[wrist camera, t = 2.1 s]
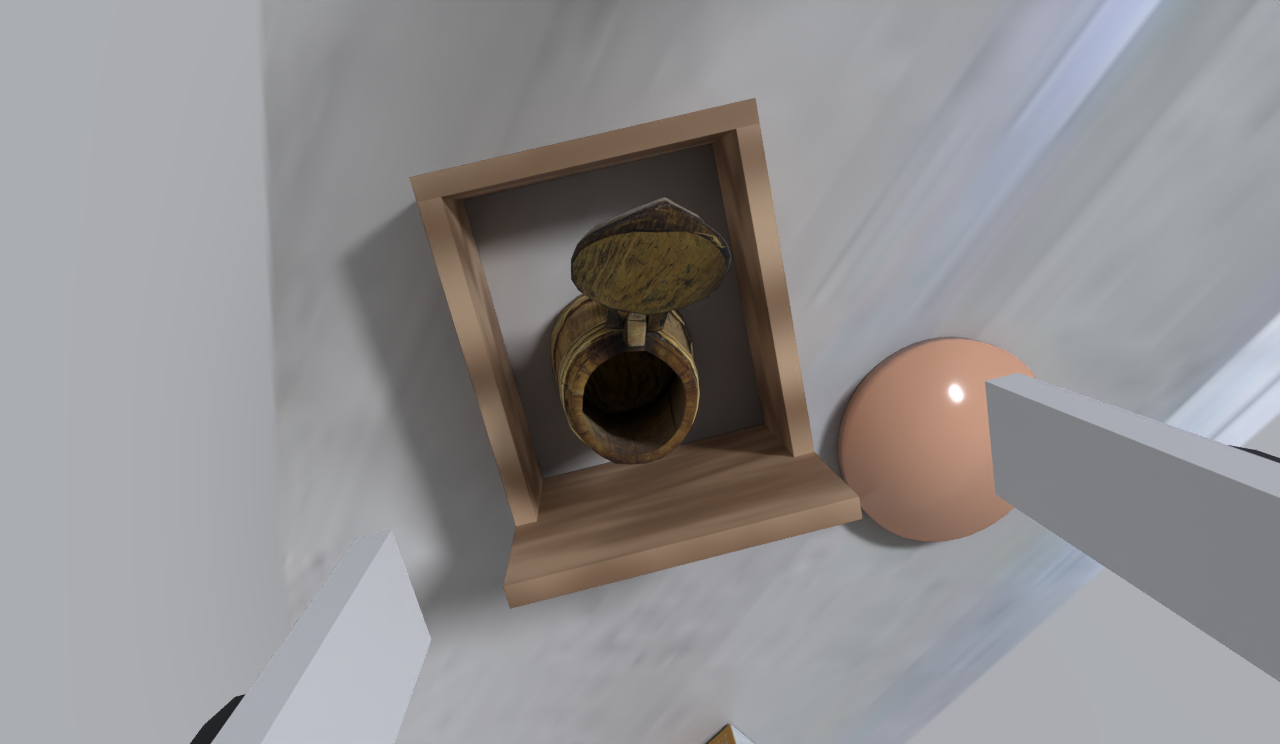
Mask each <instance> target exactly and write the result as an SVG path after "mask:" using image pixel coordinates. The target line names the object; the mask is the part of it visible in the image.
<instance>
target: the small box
mask: <svg viewBox="0 0 1280 744" xmlns="http://www.w3.org/2000/svg"><path fill="white" fill-rule="evenodd" d="M708 744H754V743H753V742H751V741H750V740H749V739H748V738H747V737H745V736H744V735H743V734H742V733H741V732H739V731H738V730H737V729H736V728H735V727H734V726H732V725H731V724H729V725H728V726H726V727H725V728H724V729H723V730H722V731H721V732H720V733H719V734H718V735H717V736H716V737H715V738H714V739H713V740H712V741H710V742H709V743H708Z"/></svg>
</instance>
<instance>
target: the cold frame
mask: <svg viewBox="0 0 1280 744" xmlns="http://www.w3.org/2000/svg"><path fill="white" fill-rule="evenodd" d="M709 143H712V145H713V150H714V155H715V161H716V166H717V171H718V177H719V182H720V188H721V193H722V198H723V204H724V209H725V214H726V220H727V225H728V231H729V236H730V241H731V247H732V252H733V257H734V263H735V268H736V273H737V279H738V284H739V290H740V295H741V300H742V306H743V311H744V316H745V322H746V327H747V332H748V338H749V343H750V349H751V354H752V359H753V365H754V370H755V375H756V381H757V386H758V392H759V397H760V402H761V408H762V413H763V418H764V424H762V425H758V426H754V427H750V428H746V429H742V430H738V431H734V432H730V433H726V434H722V435H718V436H714V437H710V438H706V439H702V440H698V441H694V442H690V443H686V444H682V445H678V446H677V447H676V448H675V449H674V450H673V451H672V452H671V453H669V454H668V455H666V456H665V457H663V458H662V459H659V460H656V461H653V462H650V463H647V464H633V465H629V464H615V463H613V462H609V463H605V464H601V465H597V466H593V467H589V468H585V469H581V470H577V471H573V472H569V473H565V474H560V475H556V476H552V477H548V478H544V479H543V476H542V473H541V470H540V466H539V463H538V459H537V456H536V452H535V449H534V445H533V442H532V438H531V435H530V431H529V428H528V424H527V421H526V417H525V414H524V410H523V407H522V403H521V400H520V396H519V393H518V389H517V386H516V383H515V379H514V376H513V372H512V369H511V365H510V362H509V358H508V355H507V351H506V348H505V344H504V341H503V337H502V334H501V330H500V327H499V323H498V320H497V316H496V313H495V309H494V306H493V303H492V299H491V296H490V292H489V289H488V285H487V282H486V278H485V275H484V271H483V268H482V264H481V261H480V257H479V254H478V250H477V247H476V243H475V240H474V236H473V233H472V229H471V226H470V222H469V219H468V216H467V212H466V209H465V205H464V202H463V200H467V199H472V198H476V197H480V196H485V195H489V194H493V193H498V192H502V191H506V190H511V189H515V188H519V187H523V186H528V185H532V184H536V183H541V182H545V181H549V180H554V179H558V178H562V177H567V176H571V175H575V174H580V173H584V172H588V171H593V170H597V169H601V168H605V167H610V166H614V165H618V164H623V163H627V162H631V161H636V160H640V159H644V158H649V157H653V156H657V155H662V154H666V153H670V152H675V151H679V150H683V149H687V148H692V147H696V146H700V145H705V144H709ZM409 178H410V181H411V185H412V188H413V191H414V194H415V198H416V201H417V204H418V207H419V211H420V214H421V217H422V220H423V224H424V227H425V230H426V234H427V237H428V240H429V243H430V247H431V250H432V253H433V256H434V260H435V263H436V266H437V270H438V273H439V276H440V279H441V283H442V286H443V289H444V292H445V296H446V299H447V302H448V306H449V309H450V312H451V315H452V319H453V322H454V325H455V328H456V332H457V335H458V338H459V342H460V345H461V348H462V351H463V355H464V358H465V361H466V364H467V368H468V371H469V374H470V378H471V381H472V384H473V387H474V391H475V394H476V397H477V400H478V404H479V407H480V410H481V414H482V417H483V420H484V423H485V427H486V430H487V433H488V436H489V440H490V443H491V446H492V450H493V453H494V456H495V459H496V463H497V466H498V469H499V472H500V476H501V479H502V482H503V486H504V489H505V492H506V495H507V499H508V502H509V505H510V508H511V512H512V515H513V518H514V522H515V525H516V529H515V534H514V538H513V543H512V548H511V552H510V557H509V562H508V567H507V571H506V576H505V581H504V585H503V588H504V591H505V594H506V597H507V600H508V603H509V606H510V608H514V607H518V606H522V605H526V604H530V603H534V602H538V601H542V600H546V599H549V598H553V597H557V596H561V595H565V594H569V593H573V592H577V591H581V590H585V589H589V588H593V587H597V586H601V585H605V584H608V583H612V582H616V581H620V580H624V579H628V578H632V577H636V576H640V575H644V574H648V573H652V572H656V571H660V570H664V569H667V568H671V567H675V566H679V565H683V564H687V563H691V562H695V561H699V560H703V559H707V558H711V557H715V556H719V555H723V554H726V553H730V552H734V551H738V550H742V549H746V548H750V547H754V546H758V545H762V544H766V543H770V542H774V541H778V540H782V539H785V538H789V537H793V536H797V535H801V534H805V533H809V532H813V531H817V530H821V529H825V528H829V527H833V526H837V525H841V524H845V523H848V522H852V521H856V520H860V519H863V518H862V512H861V505H860V498H859V496H858V495H857V494H856V493H855V492H854V491H853V490H852V489H851V488H850V487H849V486H848V485H847V484H846V483H845V482H844V481H843V480H842V479H841V478H840V477H839V476H838V475H837V474H836V473H835V472H834V471H833V470H832V469H831V468H830V467H829V466H828V465H827V464H826V463H825V462H824V461H823V460H822V459H821V458H820V457H819V456H818V455H817V454H816V453H815V452H814V447H813V441H812V435H811V429H810V423H809V417H808V411H807V405H806V399H805V393H804V387H803V381H802V375H801V369H800V363H799V357H798V351H797V345H796V339H795V333H794V327H793V321H792V315H791V309H790V303H789V297H788V291H787V285H786V279H785V273H784V267H783V261H782V255H781V249H780V243H779V237H778V231H777V225H776V219H775V213H774V207H773V201H772V195H771V189H770V183H769V177H768V171H767V165H766V159H765V153H764V147H763V141H762V135H761V129H760V123H759V117H758V111H757V105H756V99H755V98H753V99H749V100H745V101H740V102H736V103H731V104H727V105H723V106H718V107H714V108H710V109H705V110H701V111H697V112H692V113H688V114H684V115H679V116H675V117H671V118H666V119H662V120H658V121H653V122H649V123H644V124H640V125H636V126H631V127H627V128H623V129H618V130H614V131H610V132H605V133H601V134H597V135H592V136H588V137H584V138H579V139H575V140H570V141H566V142H562V143H557V144H553V145H549V146H544V147H540V148H536V149H531V150H527V151H523V152H518V153H514V154H510V155H505V156H501V157H497V158H492V159H488V160H483V161H479V162H475V163H470V164H466V165H462V166H457V167H453V168H449V169H444V170H440V171H436V172H431V173H427V174H423V175H418V176H414V177H409Z"/></svg>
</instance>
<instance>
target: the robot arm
mask: <svg viewBox="0 0 1280 744" xmlns="http://www.w3.org/2000/svg"><path fill="white" fill-rule="evenodd" d="M985 389H986V399H987V410H988V421H989V431H990V442H991V453H992V463H993V474H994V485H995V494H996V495H997V496H999V497H1000V498H1002V499H1003V500H1005V501H1006V502H1008V503H1009V504H1011V505H1012V506H1014V507H1015V508H1017V509H1018V510H1020V511H1021V512H1023V513H1024V514H1026V515H1027V516H1029V517H1030V518H1032V519H1033V520H1035V521H1036V522H1038V523H1040V524H1041V525H1043V526H1044V527H1046V528H1047V529H1049V530H1050V531H1052V532H1053V533H1055V534H1056V535H1058V536H1059V537H1061V538H1062V539H1064V540H1065V541H1067V542H1068V543H1070V544H1071V545H1073V546H1074V547H1076V548H1077V549H1079V550H1081V551H1082V552H1084V553H1085V554H1087V555H1088V556H1090V557H1091V558H1093V559H1094V560H1096V561H1097V562H1099V563H1100V564H1102V565H1103V566H1105V567H1106V568H1108V569H1109V570H1111V571H1112V572H1114V573H1115V574H1117V575H1119V576H1120V577H1121V578H1123V579H1125V580H1126V581H1128V582H1129V583H1131V584H1132V585H1134V586H1135V587H1137V588H1138V589H1140V590H1141V591H1143V592H1144V593H1146V594H1147V595H1149V596H1150V597H1152V598H1154V599H1155V600H1157V601H1158V602H1159V603H1161V604H1162V605H1164V606H1166V607H1167V608H1169V609H1170V610H1172V611H1173V612H1175V613H1176V614H1178V615H1179V616H1181V617H1182V618H1184V619H1185V620H1187V621H1188V622H1190V623H1191V624H1193V625H1194V626H1196V627H1197V628H1199V629H1200V630H1202V631H1203V632H1205V633H1207V634H1208V635H1209V636H1211V637H1213V638H1214V639H1216V640H1217V641H1219V642H1220V643H1222V644H1223V645H1225V646H1226V647H1228V648H1229V649H1231V650H1232V651H1234V652H1236V653H1237V654H1238V655H1240V656H1241V657H1243V658H1244V659H1246V660H1247V661H1249V662H1251V663H1252V664H1253V665H1255V666H1257V667H1258V668H1260V669H1261V670H1263V671H1264V672H1266V673H1267V674H1269V675H1270V676H1272V677H1273V678H1275V679H1276V680H1278V681H1279V682H1280V458H1278V457H1275V456H1271V455H1269V454H1266V453H1263V452H1260V451H1257V450H1252V449H1247V448H1241V447H1236V446H1230V445H1225V444H1223V443H1220V442H1217V441H1214V440H1211V439H1208V438H1205V437H1202V436H1199V435H1197V434H1194V433H1191V432H1188V431H1185V430H1182V429H1179V428H1176V427H1173V426H1171V425H1168V424H1165V423H1162V422H1159V421H1156V420H1153V419H1150V418H1147V417H1145V416H1142V415H1139V414H1136V413H1133V412H1130V411H1127V410H1124V409H1122V408H1119V407H1116V406H1113V405H1110V404H1107V403H1104V402H1101V401H1098V400H1096V399H1093V398H1090V397H1087V396H1084V395H1081V394H1078V393H1075V392H1072V391H1070V390H1067V389H1064V388H1061V387H1058V386H1055V385H1052V384H1049V383H1047V382H1044V381H1041V380H1038V379H1035V378H1032V377H1029V376H1026V375H1023V374H1021V373H1015V374H1011V375H1007V376H1003V377H999V378H995V379H991V380H987V381H985ZM430 642H431V637H430V634H429V632H428V629H427V626H426V623H425V621H424V618H423V615H422V612H421V610H420V607H419V604H418V601H417V598H416V596H415V593H414V590H413V587H412V585H411V582H410V579H409V576H408V574H407V571H406V568H405V565H404V563H403V560H402V557H401V554H400V552H399V549H398V546H397V543H396V541H395V538H394V535H393V532H392V530H389V531H385V532H381V533H377V534H373V535H369V536H365V537H361V538H357V539H355V541H354V542H353V543H352V545H351V546H350V548H349V549H348V550H347V552H346V553H345V555H344V556H343V557H342V559H341V560H340V562H339V563H338V565H337V566H336V567H335V569H334V570H333V572H332V573H331V574H330V576H329V577H328V579H327V580H326V582H325V583H324V584H323V586H322V587H321V589H320V590H319V591H318V593H317V594H316V596H315V597H314V599H313V600H312V601H311V603H310V604H309V606H308V607H307V608H306V610H305V611H304V613H303V614H302V615H301V617H300V618H299V620H298V621H297V623H296V624H295V625H294V627H293V628H292V630H291V631H290V632H289V634H288V635H287V637H286V638H285V640H284V641H283V643H282V644H281V645H280V647H279V648H278V649H277V651H276V652H275V654H274V655H273V657H272V658H271V659H270V661H269V662H268V664H267V665H266V666H265V668H264V669H263V671H262V672H261V674H260V675H259V676H258V678H257V679H256V681H255V682H254V683H253V685H252V686H251V688H250V689H249V690H248V692H247V693H246V694H245V695H241V696H237V697H235V698H233V699H232V700H231V701H230V702H229V703H228V704H227V705H226V706H224V708H222V709H221V710H220V711H219V712H218V713H217V714H216V715H215V716H213V717H212V718H211V719H210V720H209V721H208V722H207V723H206V724H205V725H204V726H203V727H202V728H201V730H200V731H199V732H198V734H197V735H196V736H195V738H194V739H193V740H192V742H191V743H190V744H394V743H395V740H396V738H397V735H398V732H399V729H400V726H401V724H402V721H403V718H404V715H405V712H406V710H407V707H408V704H409V701H410V698H411V696H412V693H413V690H414V687H415V684H416V681H417V679H418V676H419V673H420V670H421V667H422V665H423V662H424V659H425V656H426V653H427V651H428V648H429V645H430Z"/></svg>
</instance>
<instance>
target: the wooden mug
mask: <svg viewBox="0 0 1280 744" xmlns="http://www.w3.org/2000/svg"><path fill="white" fill-rule="evenodd" d="M731 258H732V254H731V252H730V249H729V246H728V243H727V242H726V241H725V240H724V238H723V237H722V236H721V235H720V234H719V233H718V231H716V230H715V229H713V228H712V227H711V226H709V225H708V224H707V223H705V222H704V221H703V220H702V219H701V218H700V217H699V216H698V215H697V214H695V213H693V212H691V211H689V210H687V209H685V208H684V207H682V206H680V205H678V204H676V203H674V202H673V201H671V200H669V199H667V198H666V197H664V198H661V199H658V200H655V201H652V202H649V203H647V204H644V205H641V206H638V207H635V208H633V209H631V210H628V211H626V212H624V213H622V214H620V215H617V216H615V217H613V218H611V219H608V220H606V221H604V222H602V223H600V224H598V225H597V226H595V227H594V228H593V229H592V230H590V231H589V232H588V233H587V234H586V235H585V236H584V237H583V238H582V239H581V241H580V242H579V243H578V244H577V246H576V248H575V251H574V253H573V256H572V258H571V280H572V281H573V283H574V284H575V286H576V287H577V289H578V290H579V291H580V292H582V293H583V294H581V295H580V296H578V297H576V298H575V299H574V300H573V301H572V302H571V303H570V304H568V305H567V306H566V307H565V308H564V309H563V310H562V311H561V313H560V316H559V318H558V320H557V322H556V324H555V327H554V329H553V331H552V333H551V356H552V371H553V374H554V377H555V380H556V383H557V386H558V389H559V392H560V401H561V403H562V406H563V409H564V411H565V414H566V417H567V420H568V423H569V425H570V428H571V429H572V430H573V432H574V433H575V434H576V435H577V437H578V438H579V439H580V440H581V441H582V442H584V443H585V444H586V445H587V446H589V447H590V448H591V449H593V450H594V451H595V452H596V453H598V454H599V455H600V456H602V457H604V458H606V459H608V460H609V461H611V462H613V463H615V464H629V465H633V464H647V463H650V462H653V461H656V460H659V459H662V458H663V457H665V456H666V455H668V454H669V453H671V452H672V451H673V450H674V449H675V448H676V447H677V446H678V445H679V444H680V443H681V442H682V441H683V439H684V438H685V436H686V435H687V433H688V432H689V430H690V429H691V427H692V424H693V422H694V420H695V416H696V413H697V410H698V403H699V395H700V393H699V380H698V371H697V368H696V365H695V363H694V360H693V355H694V354H693V346H692V341H691V338H690V334H689V332H688V330H687V327H686V325H685V323H684V320H683V318H682V316H681V314H680V313H679V312H678V310H677V309H680V308H684V307H686V306H688V305H691V304H693V303H695V302H697V301H700V300H702V299H704V298H706V297H708V296H709V295H710V294H711V293H713V292H714V291H715V290H716V289H717V288H718V287H719V286H720V284H721V283H722V281H723V279H724V278H725V276H726V274H727V272H728V270H729V267H730V265H731Z"/></svg>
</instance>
